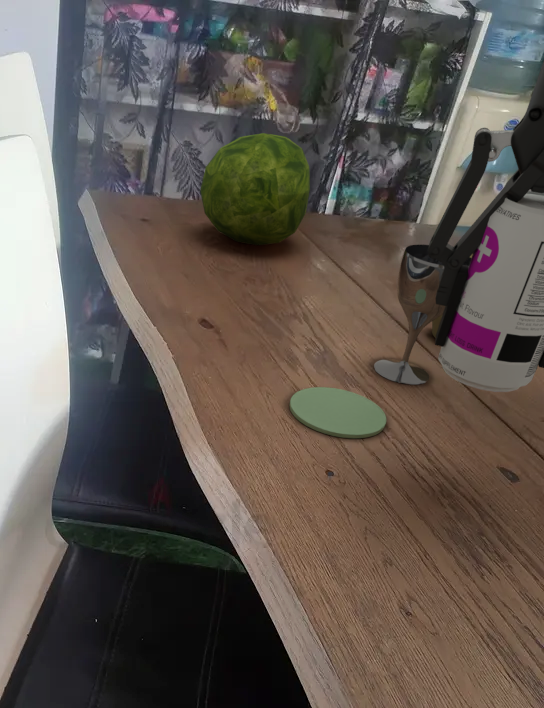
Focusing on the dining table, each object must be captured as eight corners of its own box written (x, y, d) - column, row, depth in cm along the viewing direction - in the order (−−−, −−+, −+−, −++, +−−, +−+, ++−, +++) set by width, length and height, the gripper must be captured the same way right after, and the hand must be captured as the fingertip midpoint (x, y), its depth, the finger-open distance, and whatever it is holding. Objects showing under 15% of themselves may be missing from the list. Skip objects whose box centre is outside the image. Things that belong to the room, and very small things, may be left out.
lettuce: (309, 237, 143) (317, 132, 135) (301, 254, 123) (310, 132, 115) (211, 235, 147) (213, 133, 139) (188, 251, 127) (190, 133, 119)
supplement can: (432, 381, 65) (493, 203, 56) (439, 347, 71) (494, 183, 62) (529, 404, 63) (608, 223, 54) (527, 367, 69) (597, 200, 60)
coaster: (389, 405, 87) (390, 401, 87) (379, 448, 79) (381, 444, 78) (299, 382, 90) (300, 378, 89) (280, 422, 81) (281, 418, 81)
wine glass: (392, 353, 100) (427, 241, 91) (443, 376, 95) (486, 260, 87) (358, 366, 95) (392, 249, 86) (411, 391, 91) (452, 271, 82)
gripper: (451, 37, 52) (368, 340, 65) (787, 79, 47) (622, 395, 61) (453, 33, 57) (377, 312, 71) (753, 70, 53) (609, 361, 66)
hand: (490, 350), depth 66 cm, fingers closed on supplement can, 8 cm apart
